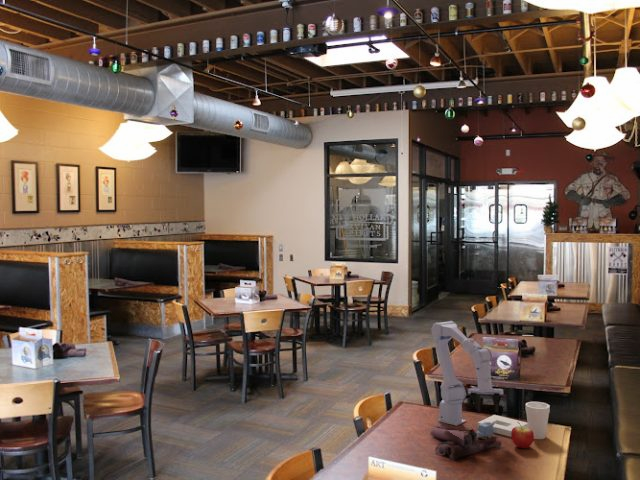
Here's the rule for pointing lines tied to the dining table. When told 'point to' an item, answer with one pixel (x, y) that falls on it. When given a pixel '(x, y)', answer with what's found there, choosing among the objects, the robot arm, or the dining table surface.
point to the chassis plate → (503, 424)
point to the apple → (522, 436)
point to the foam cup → (537, 418)
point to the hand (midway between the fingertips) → (487, 411)
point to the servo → (486, 429)
